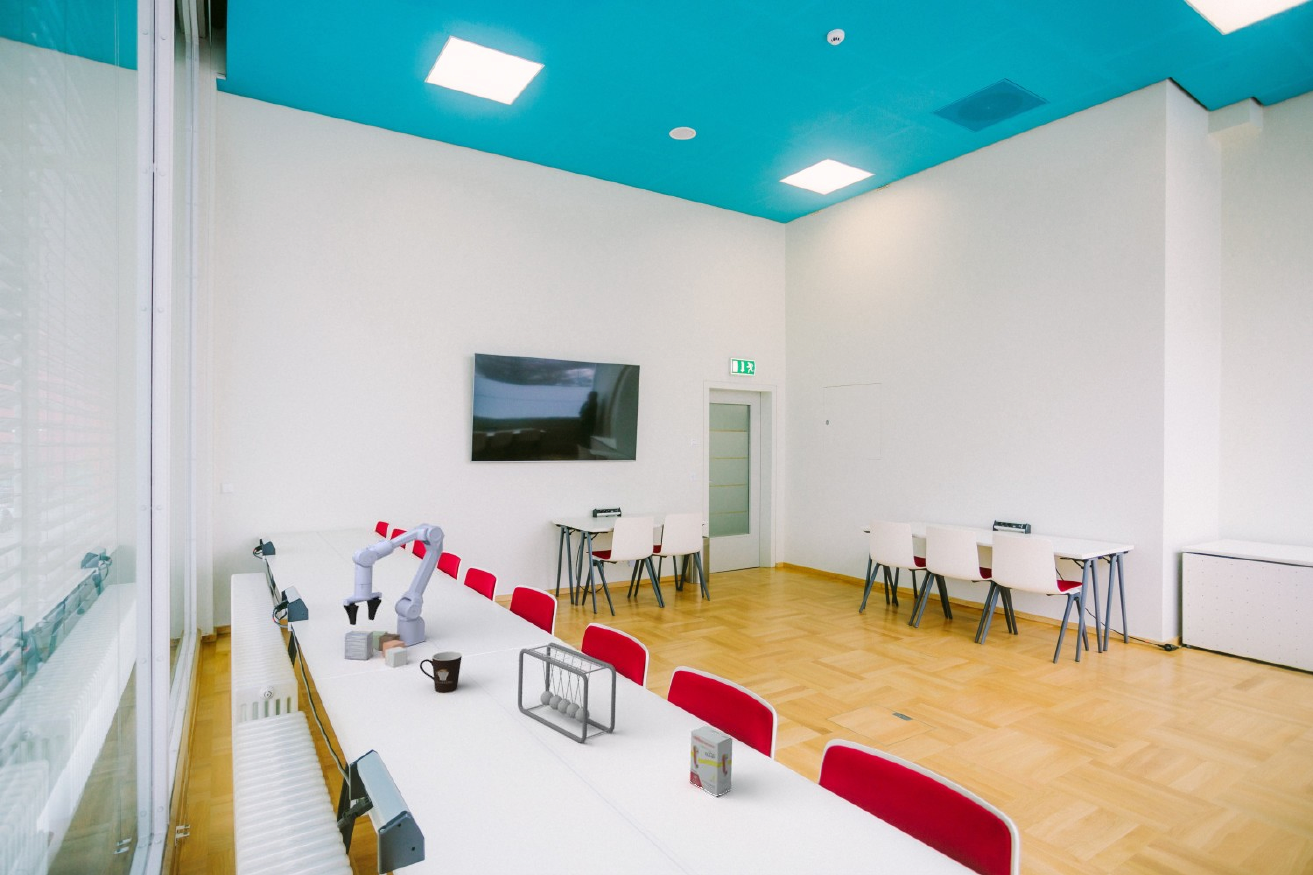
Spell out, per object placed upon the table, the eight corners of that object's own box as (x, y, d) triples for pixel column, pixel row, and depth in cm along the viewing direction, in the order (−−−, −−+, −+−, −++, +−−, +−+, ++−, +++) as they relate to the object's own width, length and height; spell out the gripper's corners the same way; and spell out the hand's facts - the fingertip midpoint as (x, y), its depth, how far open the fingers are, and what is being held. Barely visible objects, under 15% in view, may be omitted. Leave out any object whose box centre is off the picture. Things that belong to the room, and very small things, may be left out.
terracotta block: (394, 654, 238) (394, 639, 238) (404, 656, 236) (404, 642, 236) (382, 657, 234) (383, 643, 234) (392, 660, 231) (393, 645, 231)
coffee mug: (466, 687, 208) (467, 654, 208) (447, 696, 200) (448, 662, 200) (437, 680, 213) (438, 648, 213) (417, 689, 205) (418, 655, 205)
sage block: (373, 644, 248) (373, 631, 248) (387, 645, 248) (387, 631, 248) (367, 648, 243) (368, 634, 243) (382, 649, 243) (382, 635, 243)
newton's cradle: (516, 710, 191) (518, 647, 191) (547, 701, 198) (549, 640, 198) (583, 746, 169) (585, 674, 170) (615, 734, 177) (617, 666, 177)
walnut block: (387, 647, 246) (387, 633, 246) (399, 648, 245) (400, 634, 245) (378, 651, 241) (379, 636, 241) (391, 652, 240) (391, 638, 240)
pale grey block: (398, 661, 230) (399, 646, 230) (407, 664, 227) (407, 649, 227) (385, 664, 226) (385, 649, 227) (393, 668, 223) (393, 652, 223)
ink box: (688, 782, 152) (689, 729, 152) (704, 776, 156) (705, 724, 156) (716, 798, 146) (717, 742, 146) (731, 790, 149) (733, 736, 149)
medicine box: (372, 656, 234) (373, 631, 235) (366, 660, 230) (366, 634, 230) (351, 655, 235) (351, 630, 235) (344, 659, 231) (344, 633, 231)
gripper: (372, 578, 248) (371, 616, 248) (337, 585, 235) (336, 624, 235) (386, 581, 245) (385, 618, 244) (351, 588, 232) (350, 627, 232)
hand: (362, 622), depth 239 cm, fingers open, 7 cm apart
